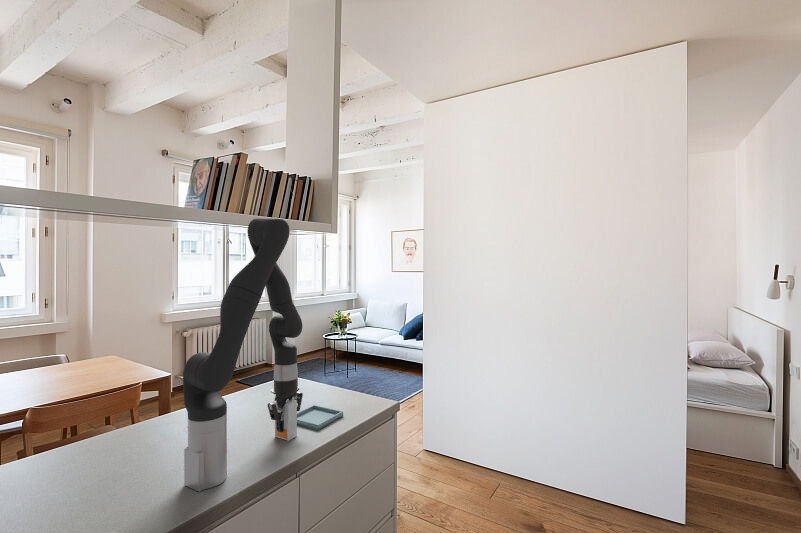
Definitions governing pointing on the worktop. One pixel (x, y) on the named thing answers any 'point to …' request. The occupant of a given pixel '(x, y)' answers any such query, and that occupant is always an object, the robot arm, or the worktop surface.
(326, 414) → the tray
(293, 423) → the skincare box
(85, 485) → the worktop surface
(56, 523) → the worktop surface
